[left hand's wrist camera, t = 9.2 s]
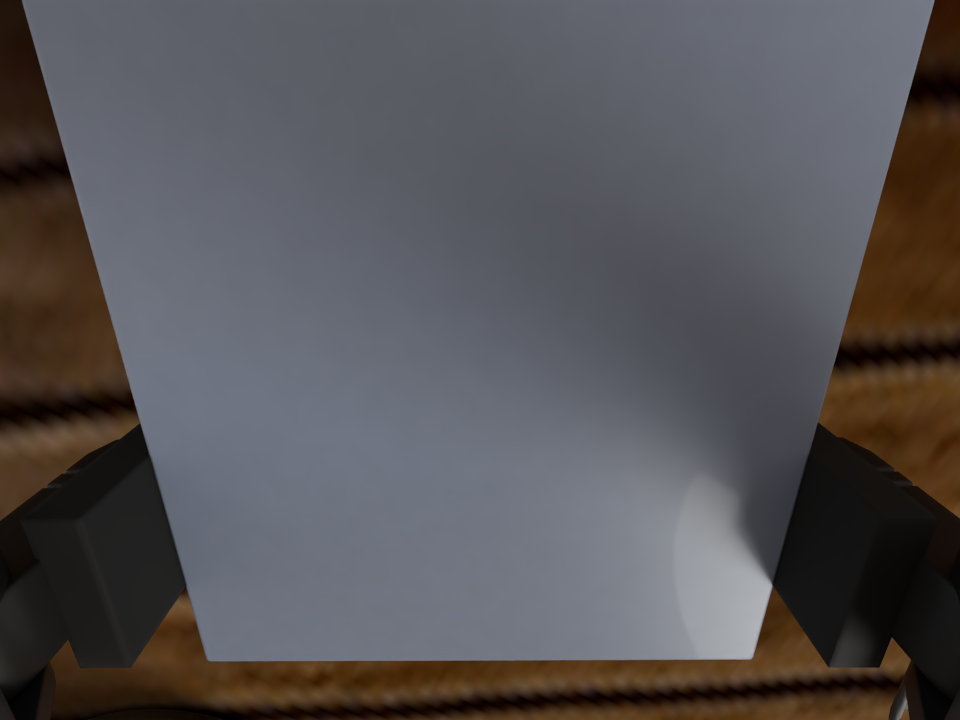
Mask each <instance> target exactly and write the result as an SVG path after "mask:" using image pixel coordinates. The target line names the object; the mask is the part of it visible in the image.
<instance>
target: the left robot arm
mask: <svg viewBox="0 0 960 720" xmlns="http://www.w3.org/2000/svg"><path fill="white" fill-rule="evenodd" d="M773 586H774V588H775V589H776V591H777V592H778V594H779V595H780V597H781V598H782V599H783V601H784V602H785V604H786V605H787V607H788V608H789V610H790V611H791V613H792V614H793V616H794V617H795V619H796V620H797V622H798V623H799V625H800V626H801V627H802V629H803V630H804V632H805V633H806V635H807V636H808V638H809V639H810V641H811V642H812V644H813V645H814V647H815V648H816V650H817V651H818V652H819V654H820V655H821V657H822V658H823V660H824V661H825V663H826V664H827V666H828V667H880V665H881V662H882V660H883V657H884V655H885V652H886V650H887V647H888V645H889V642H890V640H891V637H892V638H893V639H894V640H895V641H896V642H897V643H898V645H899V646H900V647H901V648H902V649H903V651H904V652H905V653H906V654H907V655H908V656H909V658H910V659H911V662H910V664H909V666H908V669H907V671H906V673H905V676H904V678H903V680H902V683H901V685H900V687H899V689H898V692H897V694H896V696H895V699H894V701H893V703H892V706H891V708H890V714H889V720H900V718H901V715H902V713H903V711H904V710H907V709H908V710H909V716H910V720H960V518H958V517H957V516H956V515H954V514H953V513H952V512H950V511H949V510H948V509H946V508H945V507H944V506H942V505H941V504H940V503H938V502H937V501H936V500H935V499H933V498H932V497H931V496H929V495H928V494H927V493H925V492H924V491H923V490H921V489H920V488H919V487H917V486H913V485H912V482H911V481H910V480H908V479H907V478H906V477H904V476H903V475H902V474H900V473H899V472H894V468H892V467H891V466H890V465H888V464H887V463H886V462H885V461H883V460H882V459H881V458H879V457H878V456H877V455H875V454H874V453H873V452H871V451H869V450H867V449H865V448H863V447H861V446H859V445H857V444H855V443H853V442H851V441H848V440H846V439H844V438H837V437H836V436H834V435H833V434H832V433H831V432H829V431H828V430H827V429H826V428H824V427H823V426H822V425H821V424H819V423H818V424H817V427H816V431H815V434H814V438H813V442H812V445H811V449H810V453H809V456H808V460H807V463H806V467H805V471H804V474H803V478H802V482H801V485H800V489H799V492H798V496H797V500H796V503H795V507H794V510H793V514H792V518H791V521H790V525H789V529H788V532H787V536H786V539H785V543H784V547H783V550H782V554H781V558H780V561H779V565H778V568H777V572H776V576H775V579H774V583H773ZM185 587H186V584H185V580H184V577H183V573H182V569H181V566H180V562H179V559H178V555H177V552H176V548H175V544H174V541H173V537H172V534H171V530H170V527H169V523H168V520H167V516H166V512H165V509H164V505H163V502H162V498H161V495H160V491H159V487H158V484H157V480H156V477H155V473H154V470H153V466H152V462H151V459H150V455H149V452H148V448H147V445H146V441H145V438H144V434H143V430H142V427H141V423H140V424H139V425H137V426H136V427H135V428H134V429H132V430H131V431H130V432H129V433H127V434H126V435H125V436H124V437H122V438H121V439H120V440H115V441H113V442H111V443H109V444H107V445H105V446H103V447H101V448H99V449H97V450H95V451H93V452H91V453H89V454H87V455H86V456H85V457H83V458H82V459H81V460H79V461H78V462H77V463H75V464H74V465H73V466H71V467H70V468H69V469H68V470H66V474H61V475H60V476H58V477H57V478H56V479H54V480H53V481H52V482H51V483H49V484H48V487H47V488H43V489H41V490H40V491H39V492H38V493H36V494H35V495H34V496H32V497H31V498H30V499H28V500H27V501H26V502H24V503H23V504H22V505H21V506H19V507H18V508H17V509H15V510H14V511H13V512H11V513H10V514H9V515H8V516H6V517H5V518H4V519H2V520H1V521H0V720H50V718H51V712H52V706H53V700H54V693H55V687H56V681H55V675H54V671H53V669H52V666H51V664H50V662H49V661H50V660H51V659H52V658H53V656H54V655H55V654H56V653H57V652H58V650H59V649H60V648H61V647H62V646H63V645H64V643H65V642H66V641H67V640H68V639H69V642H70V644H71V647H72V649H73V652H74V654H75V657H76V659H77V662H78V664H79V667H80V668H131V666H132V665H133V663H134V662H135V660H136V659H137V657H138V656H139V654H140V653H141V652H142V650H143V649H144V647H145V646H146V644H147V643H148V641H149V640H150V638H151V637H152V635H153V634H154V632H155V631H156V629H157V628H158V627H159V625H160V624H161V622H162V621H163V619H164V618H165V616H166V615H167V613H168V612H169V610H170V609H171V607H172V606H173V604H174V603H175V601H176V600H177V599H178V597H179V596H180V594H181V593H182V591H183V590H184V588H185ZM88 720H223V719H219V718H216V717H212V716H208V715H204V714H198V713H193V712H186V711H179V710H167V709H139V710H127V711H119V712H114V713H109V714H104V715H101V716H97V717H94V718H91V719H88Z"/></svg>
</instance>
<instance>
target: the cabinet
mask: <svg viewBox="0 0 960 720" xmlns="http://www.w3.org/2000/svg"><path fill="white" fill-rule="evenodd" d="M22 3H23V6H24V10H25V13H26V17H27V20H28V24H29V28H30V31H31V35H32V38H33V42H34V45H35V49H36V53H37V56H38V60H39V63H40V67H41V70H42V74H43V78H44V81H45V85H46V88H47V92H48V95H49V99H50V102H51V106H52V110H53V113H54V117H55V120H56V124H57V127H58V131H59V135H60V138H61V142H62V145H63V149H64V152H65V156H66V159H67V163H68V167H69V170H70V174H71V177H72V181H73V184H74V188H75V192H76V195H77V199H78V202H79V206H80V209H81V213H82V217H83V220H84V224H85V227H86V231H87V234H88V238H89V241H90V245H91V249H92V252H93V256H94V259H95V263H96V266H97V270H98V274H99V277H100V281H101V284H102V288H103V291H104V295H105V299H106V302H107V306H108V309H109V313H110V316H111V320H112V323H113V327H114V331H115V334H116V338H117V341H118V345H119V348H120V352H121V356H122V359H123V363H124V366H125V370H126V373H127V377H128V380H129V384H130V388H131V391H132V395H133V398H134V402H135V405H136V409H137V413H138V416H139V420H140V423H141V427H142V430H143V434H144V438H145V441H146V445H147V448H148V452H149V455H150V459H151V462H152V466H153V470H154V473H155V477H156V480H157V484H158V487H159V491H160V495H161V498H162V502H163V505H164V509H165V512H166V516H167V520H168V523H169V527H170V530H171V534H172V537H173V541H174V544H175V548H176V552H177V555H178V559H179V562H180V566H181V569H182V573H183V577H184V580H185V584H186V587H187V591H188V594H189V598H190V601H191V605H192V609H193V612H194V616H195V619H196V623H197V626H198V630H199V634H200V637H201V641H202V644H203V648H204V651H205V655H206V659H207V660H208V661H427V660H748V659H752V658H753V655H754V652H755V648H756V644H757V641H758V637H759V633H760V630H761V626H762V623H763V619H764V615H765V612H766V608H767V605H768V601H769V597H770V594H771V590H772V586H773V583H774V579H775V576H776V572H777V568H778V565H779V561H780V558H781V554H782V550H783V547H784V543H785V539H786V536H787V532H788V529H789V525H790V521H791V518H792V514H793V510H794V507H795V503H796V500H797V496H798V492H799V489H800V485H801V482H802V478H803V474H804V471H805V467H806V463H807V460H808V456H809V453H810V449H811V445H812V442H813V438H814V434H815V431H816V427H817V424H818V420H819V416H820V413H821V409H822V406H823V402H824V398H825V395H826V391H827V387H828V384H829V380H830V377H831V373H832V369H833V366H834V362H835V359H836V355H837V351H838V348H839V344H840V340H841V337H842V333H843V330H844V326H845V322H846V319H847V315H848V311H849V308H850V304H851V301H852V297H853V293H854V290H855V286H856V283H857V279H858V275H859V272H860V268H861V264H862V261H863V257H864V254H865V250H866V246H867V243H868V239H869V236H870V232H871V228H872V225H873V221H874V217H875V214H876V210H877V207H878V203H879V199H880V196H881V192H882V188H883V185H884V181H885V178H886V174H887V170H888V167H889V163H890V160H891V156H892V152H893V149H894V145H895V141H896V138H897V134H898V131H899V127H900V123H901V120H902V116H903V113H904V109H905V105H906V102H907V98H908V94H909V91H910V87H911V84H912V80H913V76H914V73H915V69H916V65H917V62H918V58H919V55H920V51H921V47H922V44H923V40H924V37H925V33H926V29H927V26H928V22H929V18H930V15H931V11H932V8H933V4H934V0H22Z"/></svg>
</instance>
